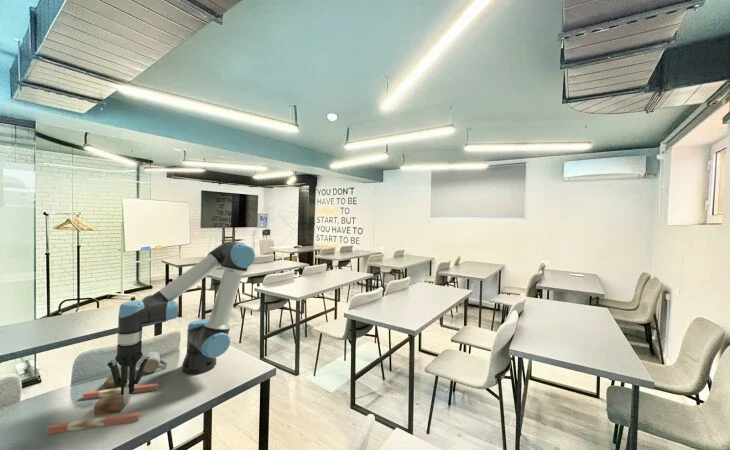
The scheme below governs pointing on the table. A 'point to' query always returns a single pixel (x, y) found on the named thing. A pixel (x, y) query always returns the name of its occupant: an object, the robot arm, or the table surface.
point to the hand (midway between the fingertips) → (127, 402)
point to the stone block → (112, 382)
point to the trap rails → (109, 419)
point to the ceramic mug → (153, 362)
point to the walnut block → (109, 405)
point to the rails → (95, 421)
